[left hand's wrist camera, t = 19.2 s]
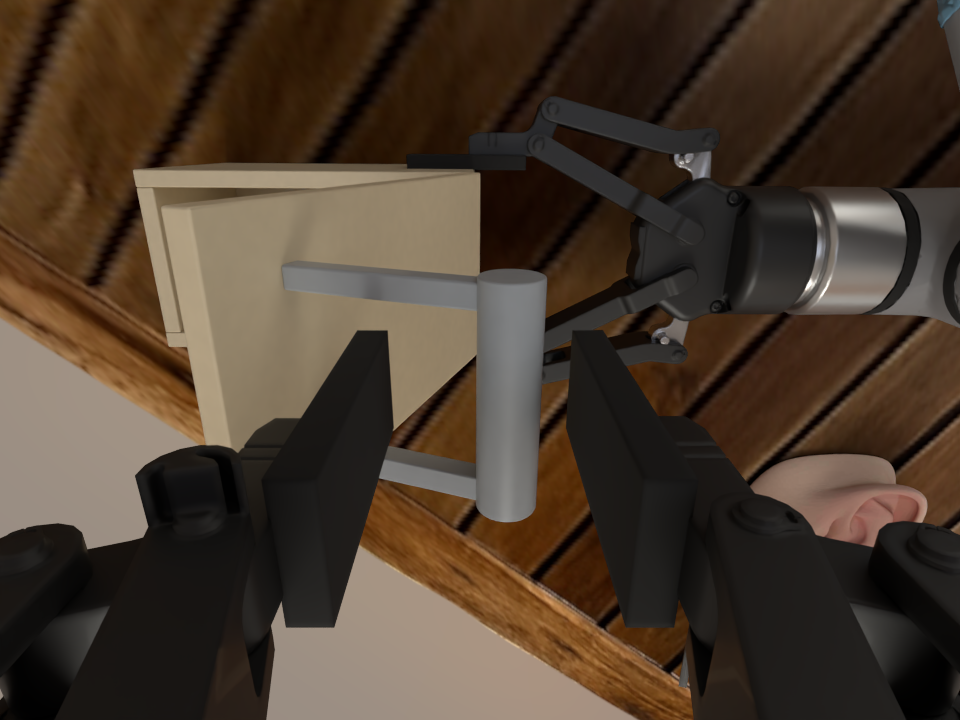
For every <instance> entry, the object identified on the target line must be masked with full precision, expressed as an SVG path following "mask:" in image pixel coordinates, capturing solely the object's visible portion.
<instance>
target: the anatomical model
mask: <svg viewBox="0 0 960 720" xmlns="http://www.w3.org/2000/svg"><path fill="white" fill-rule="evenodd" d="M750 487H751V489H752V490H753V491H754V493H755V494H760V495H764V496H769V497H771V498H774V499H776V500H778V501H781V502H783V503H786V504H788V505H789V506H791V507H792V508H794V509H795V510H796V511H798V512H799V513H801V514H802V515H803V516H804V517H805V518H806V520H807V521H808V522H809V523H810V525H811V526H812V528H813V530H814V532H815V534H816V535H819V536H822V537H826V538H830V539H835V540H840V541H845V542H851V543H856V544H861V545H866V546H871V547H874V544H875V541H876V538H877V534H878V531H879V529H881V528H882V527H883V526H884V525H886V524H887V523H892V522H898V521H910V522H919V523H922V521H923V519H924V517H925V515H926V511H927V500H926V498H925V496H924V495H923V494H922V493H921V492H919V491H918V490H915V489H913V488H911V487H908V486H904V485H898V484H896V477H895V471H894V469H893V467H892V465H891V464H890V463H889V462H888V461H886V460H885V459H882V458H879V457H875V456H868V455H858V454H829V455H813V456H805V457H798V458H793V459H789V460H786V461H783V462H780V463H778V464H776V465H774V466H772V467H771V468H769V469H768V470H766V471H765V472H764V473H763V474H761V475H760V476H759V477H758V478H757V479H756V480H755V481H754V482H753V483H752V484H751V485H750Z"/></svg>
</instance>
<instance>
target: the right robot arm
mask: <svg viewBox="0 0 960 720" xmlns="http://www.w3.org/2000/svg"><path fill="white" fill-rule="evenodd" d="M937 4H938V12H939V14H938V22H939V25H940V27H941V28H944V30H945V34H946V38H947V42H948V46H949V50H950V54H951V58H952V62H953V66H954V70H955V74H956V78H957V82H958V86H959V90H960V0H937ZM557 126H560V127H563V128H567V129H571V130H574V131H578V132H581V133H585V134H589V135H592V136H596V137H599V138H603V139H607V140H610V141H614V142H617V143H621V144H625V145H628V146H632V147H635V148H639V149H643V150H646V151H650V152H655V153H664V154H669V161H670V163H671V165H672V166H674V167H677V168H681V169H683V170H684V171H685V172H686V174H687V179H686V180H685V181H683V182H682V183H680V184H679V185H678V186H676V187H675V188H673V189H672V190H670V191H669V192H667V193H666V194H664V195H663V196H661V197H660V198H659V199H655V198H654V197H652V196H650V195H648V194H647V193H645V192H643V191H641V190H639V189H637V188H635V187H634V186H632V185H630V184H628V183H627V182H625V181H623V180H622V179H620V178H618V177H616V176H615V175H613V174H611V173H610V172H608V171H606V170H604V169H603V168H601V167H599V166H598V165H596V164H594V163H592V162H591V161H589V160H587V159H586V158H584V157H582V156H580V155H579V154H577V153H575V152H574V151H572V150H570V149H568V148H567V147H565V146H563V145H562V144H560V143H558V142H556V141H555V140H553V139H552V137H553V135H554V132H555V129H556V127H557ZM719 141H720V135H719V133H718V131H717V130H716V129H714V128H699V129H688V130H678V131H676V130H672V129H669V128H665V127H662V126H658V125H655V124H651V123H648V122H644V121H640V120H637V119H633V118H630V117H626V116H623V115H619V114H616V113H612V112H609V111H605V110H602V109H598V108H594V107H591V106H587V105H584V104H580V103H577V102H573V101H570V100H566V99H563V98H559V97H554V96H551V97H548V98H546V99H545V100H544V101H542V102H541V103H540V104H539V106H538V108H537V112H536V115H535V118H534V120H533V123H532V125H531V127H530V128H529V129H528V130H527V131H526V132H523V133H479V132H478V133H476V134H473V135H471V136H469V154H408V155H407V169H473V170H526V156H533V157H535V158H536V159H538V160H540V161H542V162H543V163H545V164H547V165H549V166H550V167H552V168H554V169H556V170H557V171H559V172H561V173H563V174H564V175H566V176H568V177H570V178H571V179H573V180H575V181H577V182H578V183H580V184H582V185H584V186H585V187H587V188H589V189H590V190H592V191H594V192H596V193H597V194H599V195H601V196H603V197H604V198H606V199H608V200H610V201H611V202H613V203H615V204H617V205H618V206H620V207H621V208H623V209H625V210H627V211H628V212H630V213H632V214H634V215H635V216H637V217H636V218H635V220H634V222H631V227H630V240H631V246H632V249H631V252H630V254H629V257H628V260H627V267H626V273H627V274H628V275H629V276H627V277H625V278H623V279H621V280H619V281H617V282H615V283H614V284H612V286H611V287H609V288H608V289H606V290H604V291H601V292H599V293H597V294H595V295H593V296H591V297H589V298H587V299H585V300H583V301H581V302H579V303H577V304H575V305H572V306H570V307H568V308H566V309H564V310H562V311H560V312H558V313H556V314H554V315H552V316H550V317H548V318H546V319H545V333H544V352H543V372H542V384H546V383H551V382H556V381H560V380H565V379H569V374H570V359H571V346H568V347H564V348H559V349H555V350H551V349H554V348H556V347H558V346H560V345H562V344H564V343H566V342H568V341H570V340H572V330H594V329H596V328H598V327H600V326H602V325H604V324H606V323H609V322H611V321H613V320H615V319H617V318H619V317H621V316H623V315H626V314H633V313H637V312H639V311H641V310H643V309H645V308H647V307H649V306H652V305H654V304H656V305H657V306H658V307H660V308H661V309H662V310H664V311H665V312H666V313H667V314H669V317H668V319H667V320H666V321H665V322H663V323H660V324H655V325H653V326H651V327H650V329H649V331H648V332H647V331H641V332H632V333H627V334H622V335H618V336H613V337H609V338H608V339H609V341H610V342H611V344H612V345H613V347H614V349H615V350H616V352H617V353H618V355H619V356H620V358H621V359H622V361H623V363H624V364H625V366H629V365H634V364H638V363H643V362H647V361H654V362H663V363H672V364H680V363H682V362H684V361H685V360H686V358H687V355H688V352H687V350H686V348H685V347H684V346H683V342H684V338H685V334H686V331H687V327H688V323H689V321H692V320H694V319H696V318H698V317H700V316H703V315H706V314H779V313H782V312H784V311H785V312H786V313H788V314H794V315H820V314H866V315H871V314H883V315H918V316H926V317H932V318H936V319H938V320H941V321H944V322H946V323H949V324H951V325H954V326H957V327H959V328H960V188H900V189H891V188H879V187H803V188H801V189H796V188H794V187H790V186H724V185H721V184H719V183H718V182H716V181H715V180H713V179H711V178H710V171H711V150H713V149H715V148H716V147H717V145H718V144H719ZM549 350H550V351H549Z"/></svg>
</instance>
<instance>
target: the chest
mask: <svg viewBox="0 0 960 720" xmlns="http://www.w3.org/2000/svg"><path fill="white" fill-rule="evenodd" d="M465 172H473V173H474V170H473V169H407V164H307V163H218V164H204V165H190V166H176V167H162V168H148V169H134V170H133V173H134V178H135V183H136V187H138V188H137V192H138V197H139V202H140V207H141V212H142V217H143V221H144V226H145V231H146V236H147V241H148V246H149V251H150V256H151V261H152V266H153V270H154V275H155V280H156V285H157V290H158V295H159V300H160V305H161V310H162V315H163V319H164V324H165V329H166V332H167V333H166V335H167V340H168V345H169V347H187V343H186V337H185V332H184V327H183V322H182V317H181V311H180V306H179V301H178V296H177V290H176V285H175V280H174V275H173V270H172V264H171V259H170V254H169V249H168V243H167V238H166V233H165V228H164V223H163V217H162V212H161V207H162V206H164V205H171V204H180V203H189V202H198V201H208V200H217V199H226V198H235V197H244V196H253V195H263V194H272V193H281V192H290V191H299V190H309V189H318V188H327V187H336V186H345V185H354V184H364V183H373V182H382V181H391V180H400V179H409V178H419V177H428V176H437V175H446V174H455V173H465Z"/></svg>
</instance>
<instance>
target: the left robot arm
mask: <svg viewBox="0 0 960 720" xmlns="http://www.w3.org/2000/svg"><path fill="white" fill-rule="evenodd" d="M393 429H394V421H393V406H392V390H391V374H390V359H389V343H388V330H357V331H356V333H355V335H354V336H353V338H352V339H351V341H350V342H349V344H348V345H347V347H346V349H345V350H344V352H343V353H342V355H341V356H340V358H339V359H338V361H337V363H336V364H335V366H334V367H333V369H332V370H331V372H330V373H329V375H328V377H327V378H326V380H325V381H324V383H323V384H322V386H321V387H320V389H319V391H318V392H317V394H316V395H315V397H314V398H313V400H312V401H311V403H310V405H309V406H308V408H307V409H306V411H305V412H304V414H303V415H302V417H301V418H275V419H273V420H272V421H270V422H268V423H267V424H265V425H264V426H262V427H260V428H259V429H257V430H256V431H255V432H254V433H253V434H252V436H251V437H250V438H249V440H248V441H247V442H246V443H245V445H244V448H242V449H241V450H240V451H239V453H237V452H236V451H235V450H233V449H232V448H229V447H224V446H220V445H199V446H194V447H189V448H183V449H179V450H176V451H173V452H171V453H168V454H165V455H162V456H160V457H158V458H157V459H155V460H153V461H152V462H150V463H148V464H146V465H145V466H144V467H143V468H142V469H141V470H140V471H139V472H138V473H137V474H136V475H135V478H136V481H137V485H138V489H139V493H140V496H141V500H142V504H143V508H144V512H145V515H146V519H147V523H148V529H147V531H146V533H145V535H144V537H143V538H140V539H136V540H132V541H128V542H122V543H117V544H112V545H107V546H103V547H97V548H92V549H87V547H86V544H85V541H84V538H83V534H82V532H81V531H79V530H78V529H77V528H76V527H74V526H72V525H65V524H59V523H57V524H48V525H38V526H33V527H28V528H26V529H21V530H17V531H15V532H12V533H10V534H8V535H7V536H4V537H2V538H0V689H1V691H2V694H3V698H2V699H1V700H0V720H266V717H267V709H268V701H269V692H270V684H271V676H272V668H273V660H274V651H275V648H274V641H273V635H272V629H271V624H272V622H273V619H274V617H275V615H276V612H277V610H278V608H279V605H280V603H281V601H282V607H283V613H284V618H285V625H286V627H334V626H335V623H336V620H337V616H338V613H339V610H340V606H341V603H342V600H343V596H344V593H345V590H346V586H347V583H348V580H349V576H350V573H351V569H352V566H353V563H354V559H355V556H356V553H357V549H358V546H359V543H360V539H361V536H362V533H363V529H364V526H365V523H366V519H367V516H368V513H369V509H370V506H371V503H372V499H373V496H374V492H375V489H376V486H377V482H378V479H379V476H380V472H381V469H382V466H383V462H384V459H385V456H386V452H387V449H388V446H389V442H390V439H391V436H392V432H393ZM566 429H567V432H568V436H569V439H570V442H571V446H572V449H573V452H574V456H575V459H576V462H577V466H578V469H579V472H580V476H581V479H582V482H583V486H584V489H585V492H586V496H587V499H588V503H589V506H590V509H591V513H592V516H593V519H594V523H595V526H596V529H597V533H598V536H599V539H600V543H601V546H602V549H603V553H604V556H605V559H606V563H607V566H608V569H609V573H610V576H611V580H612V583H613V586H614V590H615V593H616V596H617V600H618V603H619V606H620V610H621V613H622V616H623V620H624V623H625V626H626V627H674V625H675V619H676V613H677V607H678V601H679V600H680V603H681V605H682V607H683V610H684V612H685V614H686V616H687V619H688V621H689V629H688V635H687V640H686V646H685V651H684V657H683V662H682V668H681V673H680V680H679V686H680V687H685V688H686V687H687V682H688V676H689V683H690V691H691V699H692V707H693V716H694V720H960V696H959V695H958V691H959V689H960V535H958V534H956V533H954V532H952V531H951V530H949V529H946V528H943V527H939V526H937V527H936V526H935V525H932V524H927V523H919V522H910V521H898V522H892V523H887V524H886V525H884V526H883V527H882V528H881V529H879V531H878V534H877V538H876V541H875V544H874V547H871V546H866V545H861V544H856V543H851V542H845V541H840V540H835V539H830V538H826V537H822V536H819V535H816V534H815V532H814V530H813V528H812V526H811V525H810V523H809V522H808V521H807V520H806V518H805V517H804V516H803V515H802V514H801V513H799V512H798V511H796V510H795V509H794V508H792V507H791V506H789V505H788V504H786V503H783V502H781V501H778V500H776V499H774V498H771V497H769V496H764V495H760V494H755V493H754V491H753V490H752V489H751V487H750V486H749V485H748V483H747V482H746V481H745V480H744V478H743V477H742V476H741V474H740V473H739V472H738V471H737V469H736V468H735V467H734V465H733V464H732V463H731V462H730V460H729V459H728V458H726V457H725V454H724V453H723V451H722V450H721V449H720V447H719V446H716V442H715V441H714V440H713V438H712V437H711V436H710V435H709V433H708V432H707V431H706V429H705V428H703V427H701V426H700V425H698V424H697V423H695V422H693V421H692V420H690V419H689V418H687V417H685V416H658V415H657V414H656V412H655V411H654V409H653V408H652V406H651V405H650V403H649V401H648V400H647V398H646V397H645V395H644V394H643V392H642V391H641V389H640V387H639V386H638V384H637V383H636V381H635V380H634V378H633V377H632V375H631V373H630V372H629V370H628V369H627V367H626V366H625V364H624V363H623V361H622V359H621V358H620V356H619V355H618V353H617V352H616V350H615V349H614V347H613V345H612V344H611V342H610V341H609V339H608V338H607V336H606V335H605V333H604V331H603V330H572V343H571V359H570V374H569V390H568V406H567V421H566Z"/></svg>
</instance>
